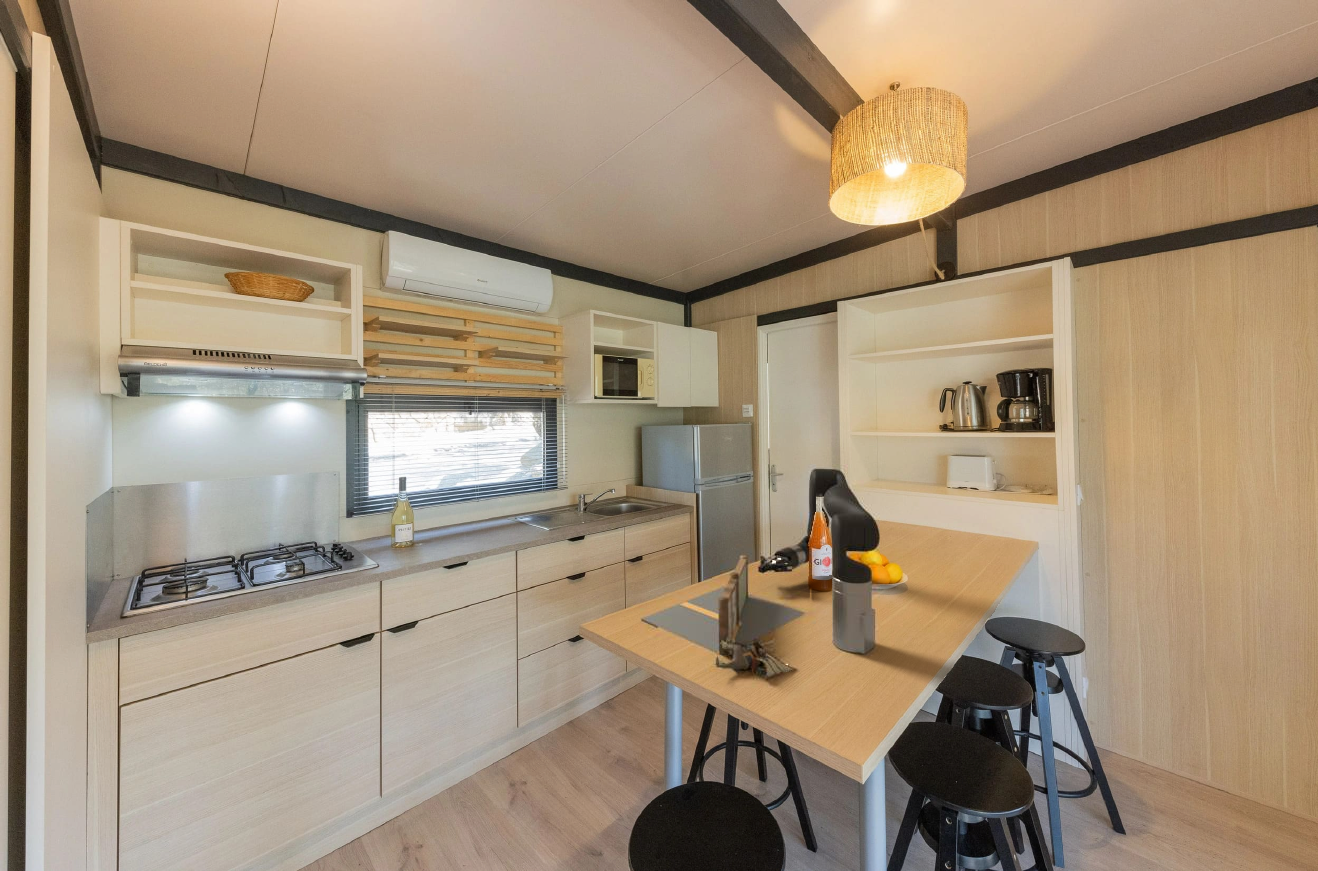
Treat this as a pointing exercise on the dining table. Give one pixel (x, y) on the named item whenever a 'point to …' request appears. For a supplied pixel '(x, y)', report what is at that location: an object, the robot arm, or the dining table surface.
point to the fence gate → (742, 580)
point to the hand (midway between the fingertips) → (760, 569)
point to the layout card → (702, 619)
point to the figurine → (753, 658)
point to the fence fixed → (728, 611)
